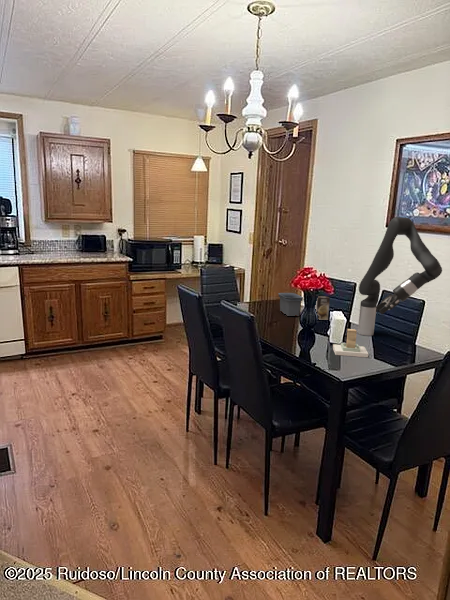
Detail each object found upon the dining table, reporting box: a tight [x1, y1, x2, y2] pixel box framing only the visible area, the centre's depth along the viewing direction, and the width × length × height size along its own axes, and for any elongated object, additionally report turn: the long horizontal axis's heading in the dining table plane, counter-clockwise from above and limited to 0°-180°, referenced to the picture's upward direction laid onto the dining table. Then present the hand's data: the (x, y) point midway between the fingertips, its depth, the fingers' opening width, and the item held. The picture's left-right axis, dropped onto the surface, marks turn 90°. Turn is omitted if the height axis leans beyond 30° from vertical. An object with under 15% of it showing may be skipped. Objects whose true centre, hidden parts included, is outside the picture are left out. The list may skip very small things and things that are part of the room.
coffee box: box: [315, 295, 331, 320], centre depth 287 cm, size 9×6×16 cm
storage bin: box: [277, 292, 304, 317], centre depth 300 cm, size 21×16×14 cm
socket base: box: [332, 342, 369, 358], centre depth 218 cm, size 12×16×4 cm
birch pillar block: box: [346, 328, 358, 348], centre depth 217 cm, size 4×4×10 cm
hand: (378, 311), depth 213 cm, fingers open, 8 cm apart
